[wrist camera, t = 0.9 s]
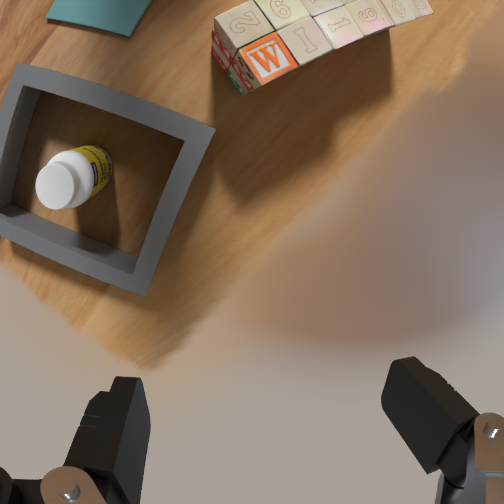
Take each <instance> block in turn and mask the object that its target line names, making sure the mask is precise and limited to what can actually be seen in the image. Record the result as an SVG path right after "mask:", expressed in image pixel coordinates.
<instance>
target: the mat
mask: <svg viewBox="0 0 504 504" xmlns="http://www.w3.org/2000/svg"><path fill="white" fill-rule="evenodd" d="M151 1H152V0H55V1H54V3H53V5H52V7H51V8H50V10H49V12H48V14H47V16H46V17H45V18H47V19H52V20H58V21H64V22H69V23H74V24H79V25H84V26H88V27H93V28H97V29H101V30H105V31H109V32H113V33H116V34H120V35H124V36H127V37H130V36H131V35H132V33H133V31H134V29H135V27H136V26H137V24H138V22H139V21H140V19H141V17H142V16H143V14H144V12H145V11H146V9H147V8H148V6H149V4H150V3H151Z"/></svg>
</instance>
